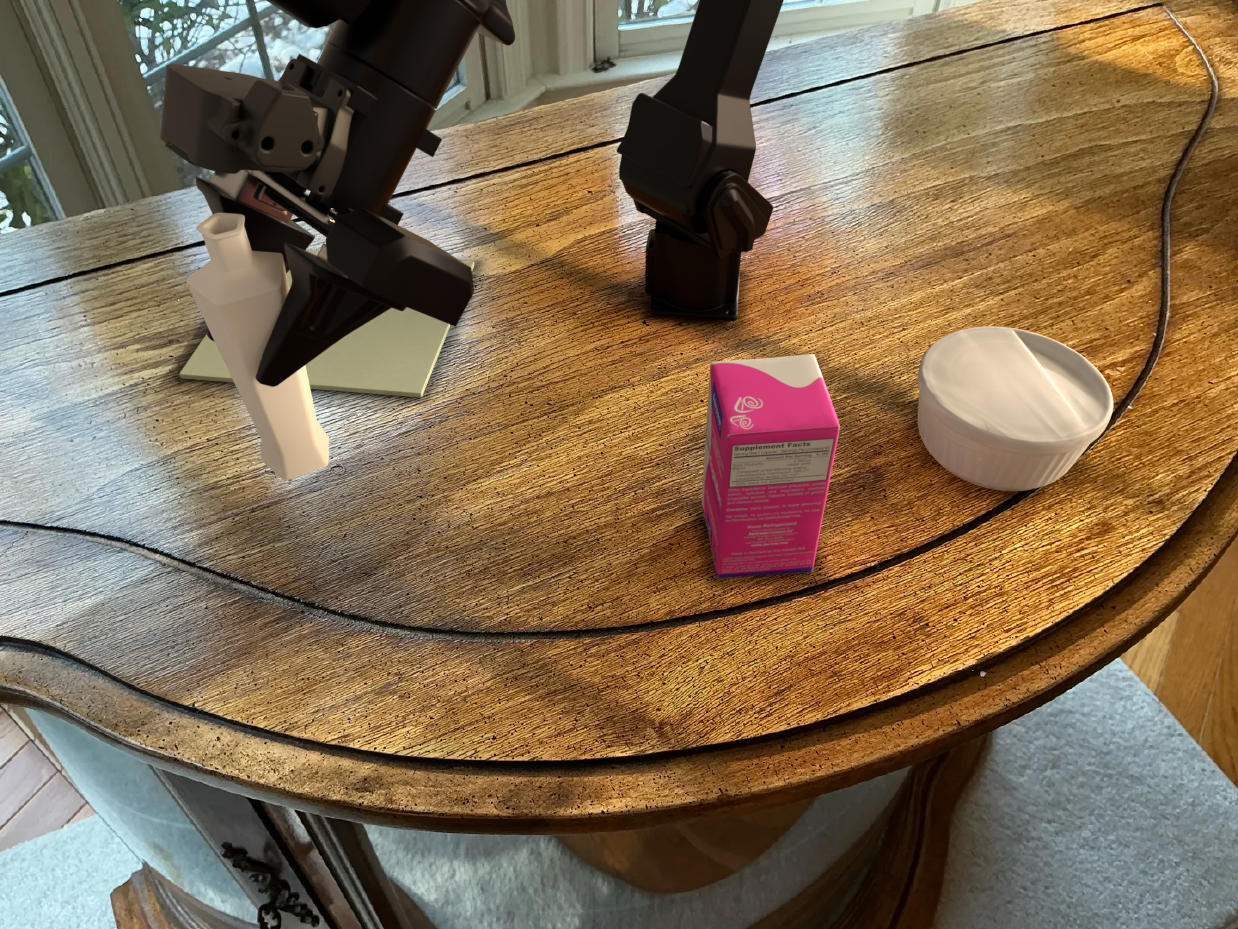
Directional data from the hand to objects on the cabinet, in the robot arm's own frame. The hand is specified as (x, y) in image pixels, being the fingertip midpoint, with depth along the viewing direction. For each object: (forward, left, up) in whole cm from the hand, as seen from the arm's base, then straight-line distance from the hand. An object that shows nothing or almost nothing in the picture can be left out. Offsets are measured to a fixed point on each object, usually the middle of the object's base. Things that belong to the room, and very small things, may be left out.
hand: (239, 361), depth 50 cm
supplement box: (-27, -2, -12) cm, 30 cm away
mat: (+4, -20, -12) cm, 24 cm away
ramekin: (-42, -12, -12) cm, 45 cm away
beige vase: (-1, -1, -8) cm, 8 cm away
